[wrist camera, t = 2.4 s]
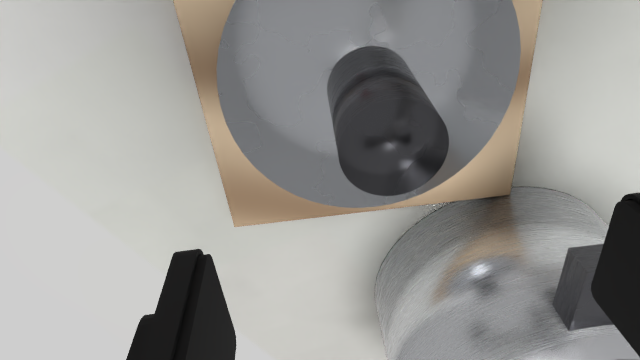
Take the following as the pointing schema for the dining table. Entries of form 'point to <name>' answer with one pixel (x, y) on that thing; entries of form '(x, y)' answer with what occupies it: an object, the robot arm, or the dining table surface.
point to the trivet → (280, 205)
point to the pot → (498, 283)
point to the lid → (365, 91)
